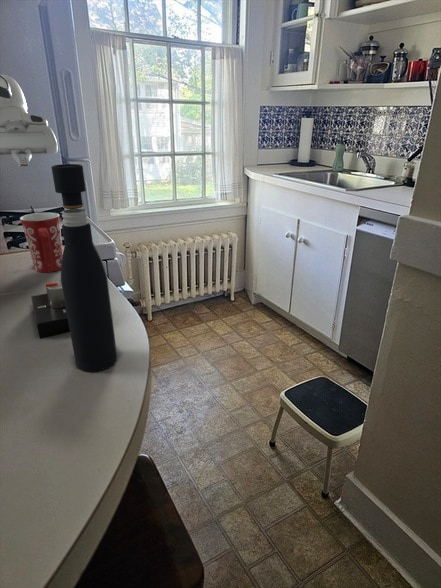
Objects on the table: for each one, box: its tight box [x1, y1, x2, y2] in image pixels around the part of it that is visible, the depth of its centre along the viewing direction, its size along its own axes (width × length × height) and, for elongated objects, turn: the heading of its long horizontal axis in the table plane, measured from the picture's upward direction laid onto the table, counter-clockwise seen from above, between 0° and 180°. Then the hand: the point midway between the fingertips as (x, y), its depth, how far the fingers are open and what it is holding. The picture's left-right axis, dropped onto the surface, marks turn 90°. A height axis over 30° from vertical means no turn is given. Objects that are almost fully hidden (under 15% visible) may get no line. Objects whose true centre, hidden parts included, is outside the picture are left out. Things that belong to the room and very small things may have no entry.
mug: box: [19, 212, 64, 273], centre depth 97 cm, size 13×9×14 cm
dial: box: [45, 279, 66, 309], centre depth 74 cm, size 4×4×4 cm
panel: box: [30, 293, 70, 340], centre depth 76 cm, size 13×10×3 cm
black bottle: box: [51, 163, 118, 373], centre depth 57 cm, size 6×6×30 cm
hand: (24, 165), depth 110 cm, fingers closed
